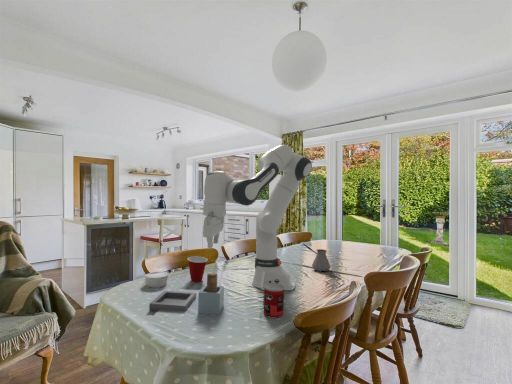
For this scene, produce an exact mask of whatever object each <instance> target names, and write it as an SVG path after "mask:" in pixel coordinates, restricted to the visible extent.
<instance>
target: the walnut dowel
mask: <svg viewBox="0 0 512 384" xmlns="http://www.w3.org/2000/svg"><path fill="white" fill-rule="evenodd" d="M206 276H207V277H206V285H207V292H217V286H218V273H216V272H210V273H207V274H206Z"/></svg>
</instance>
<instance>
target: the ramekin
mask: <svg viewBox="0 0 512 384" xmlns="http://www.w3.org/2000/svg"><path fill="white" fill-rule="evenodd" d="M144 278H145V282H146V283H145V284H146V286H147V287H149V288H162V287H165V286H166V285H167V283H168V278H169V273H168V272H166V271H152V272H149V273H146V274H145V276H144Z"/></svg>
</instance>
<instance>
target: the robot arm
mask: <svg viewBox="0 0 512 384" xmlns="http://www.w3.org/2000/svg"><path fill="white" fill-rule="evenodd" d="M312 164H313V163H312V161H311V160H310V159H309V158H308V157H305V156H303V155H301V154H299V153H297V152H293V150H292V148H291V147H290V146H288V145H287V144H281V145H277V146H276V147H275V146H274V148H271V149H270V150H268V151H267V152H265V153H264V154H262V155H261V157H260V158H258V160H257V169H258V173H256V174H255V175H254V176H253V177H252V178H249V179H240V180H235V178H234V179H233V178H232V177H230V175H228V174H227V173H226V171H223V170H219V171H217V170H216V171H211V172H208V173H207V174H206V176H205V178H204V179H205V180H204V185H203V187H204V188H203V195H204V200H203V205H202V206H203V207H202V208H203V210H202V211H203V212H202V215H203V216H205V217H204V218H203V226H202V237H203V238H206V242H207V248H209V249H212V248H213V247H214V244H218V243H219V238H220V233H221V232H222V231H223V229H224V225H225V224H224V223H225V217H226V214H227V209H226V205H227V204H226V203H229V204H231V203H232V204H236V205H237V204H238V205H242V206H245V207H246V206H251V205H253V203H255V202H256V201H257V199H258V197H259V195H260V194H261V193H262V192H263V190H264V189H265V188H266V187H267V186H268V185H269V184H271V182H272V181H273V180H274V179H275V178H277V176H278V175H279V173H281V172H283V174H282V176H281V177H280V178H279V179H278V182H277V183H276V184H275V186H274V188H273V189H272V192H271V193H270V194H269V197H268V200H267V201H266V204H265V206H264V208H263V209H262V210H261V211H259V212H258V213H257V215H256V218H255V240H256V241H255V243H256V244H255V245H256V246H255V257H254V275H253V278H252V282H251V285H252V286H253V287H255V288H258V289H260V290H262V291H264V286H265V285H267V284H279V285H282V286H284V291H293V290H294V289H295V288H296V283H295V282H294V281H293V280H292V279H291V275H290V272H289V271H288V270H286V269H285V268H284V267H283V266H282V260H281V259H280V258H278V256H277V255H278V238H277V230H278V229H279V228H280V226H281V224H282V221H283V219H284V216H285V214H286V212H287V210H288V207H289V205H290V204H291V201H292V200H293V198H294V196H295V194H296V193H297V191H298V188H299V186H300V184H301V182H302V180H304V179H306V178H307V177H308V176H309V175H310V173H311V171H312V169H313V165H312Z"/></svg>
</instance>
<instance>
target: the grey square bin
mask: <svg viewBox="0 0 512 384" xmlns="http://www.w3.org/2000/svg"><path fill="white" fill-rule="evenodd" d="M224 299H225V286H222V285H217V292H207V284H205V285H203V286H202V287H201V288H200V290H199V291H198V299H197V300H198V302H197V306H198V307H197V313H198V314H206V315H220V314H221V312H222V310H223V308H224V306H225V305H224V302H225V300H224Z"/></svg>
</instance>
